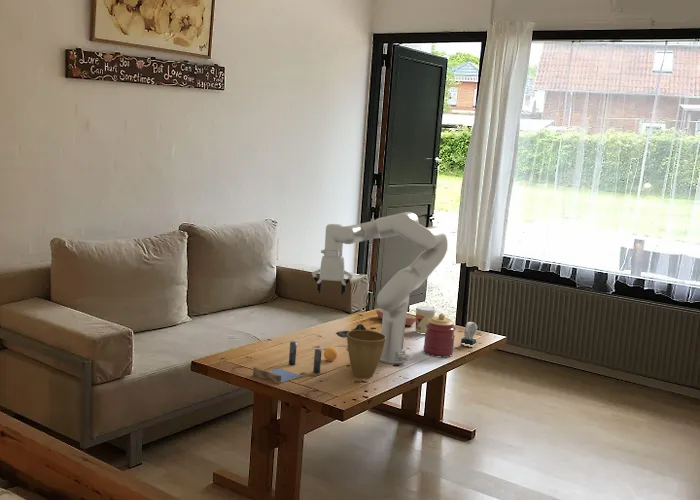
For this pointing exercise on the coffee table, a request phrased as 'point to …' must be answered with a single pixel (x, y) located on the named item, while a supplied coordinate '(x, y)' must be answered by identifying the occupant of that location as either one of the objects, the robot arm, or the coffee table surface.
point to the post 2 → (317, 361)
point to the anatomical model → (409, 317)
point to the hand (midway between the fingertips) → (331, 293)
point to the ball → (330, 354)
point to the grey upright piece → (469, 333)
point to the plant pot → (365, 351)
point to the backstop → (267, 375)
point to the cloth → (344, 333)
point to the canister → (439, 336)
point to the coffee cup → (423, 317)
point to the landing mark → (285, 374)
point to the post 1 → (292, 353)
